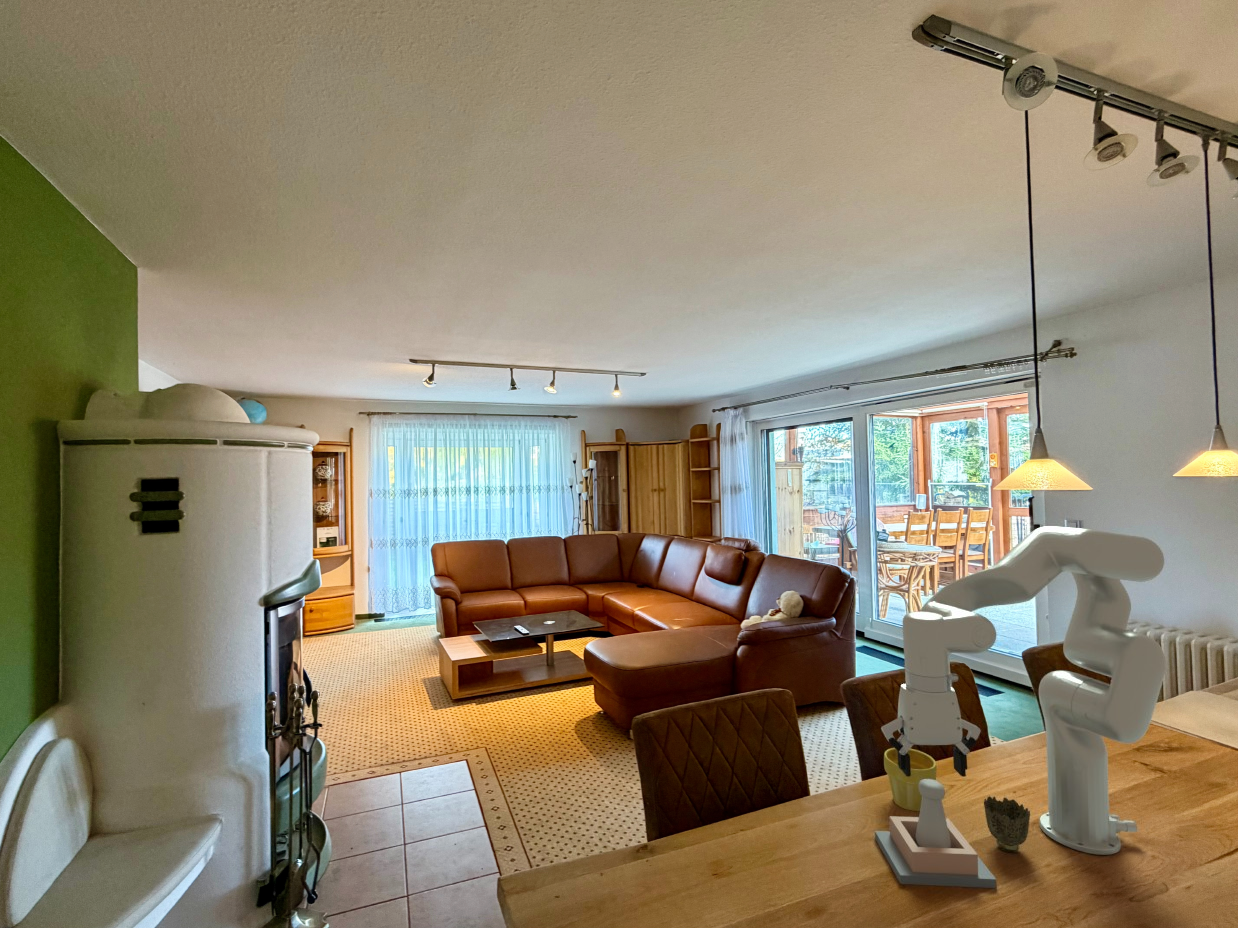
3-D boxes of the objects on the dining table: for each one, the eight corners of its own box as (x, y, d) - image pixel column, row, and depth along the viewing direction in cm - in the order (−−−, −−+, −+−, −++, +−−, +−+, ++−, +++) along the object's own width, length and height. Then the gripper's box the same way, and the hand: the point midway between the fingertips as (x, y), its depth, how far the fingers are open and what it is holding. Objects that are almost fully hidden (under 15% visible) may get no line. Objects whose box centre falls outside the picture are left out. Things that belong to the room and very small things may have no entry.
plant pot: (949, 810, 126) (947, 763, 126) (911, 820, 122) (910, 773, 122) (909, 786, 135) (908, 743, 136) (874, 795, 132) (873, 751, 132)
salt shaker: (955, 865, 106) (953, 792, 106) (920, 861, 107) (919, 788, 107) (945, 845, 111) (943, 775, 112) (912, 841, 113) (910, 773, 113)
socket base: (960, 841, 115) (959, 815, 115) (996, 887, 102) (995, 858, 102) (875, 838, 116) (874, 812, 116) (900, 883, 103) (899, 854, 104)
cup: (1024, 840, 115) (1023, 798, 115) (1037, 864, 108) (1035, 819, 108) (980, 833, 117) (979, 792, 118) (990, 856, 110) (989, 812, 111)
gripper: (966, 672, 113) (971, 762, 113) (872, 674, 114) (877, 762, 114) (987, 687, 105) (992, 783, 105) (887, 688, 107) (891, 783, 107)
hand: (932, 772), depth 110 cm, fingers open, 9 cm apart
